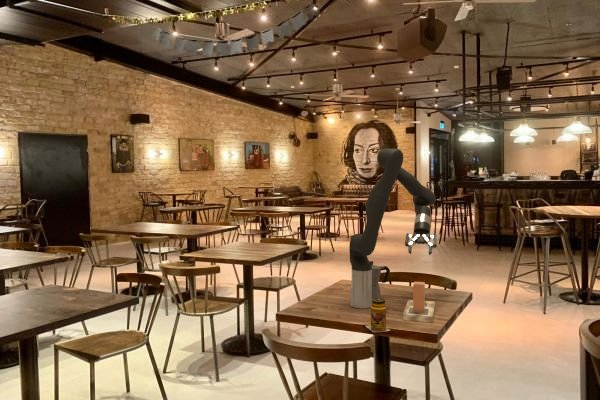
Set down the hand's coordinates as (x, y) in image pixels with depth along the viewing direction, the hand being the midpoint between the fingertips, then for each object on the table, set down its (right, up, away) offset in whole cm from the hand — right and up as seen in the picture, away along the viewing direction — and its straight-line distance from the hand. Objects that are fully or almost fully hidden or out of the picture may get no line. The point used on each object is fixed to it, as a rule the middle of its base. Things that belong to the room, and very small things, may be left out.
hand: (419, 253), depth 234 cm
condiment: (-24, -27, -29) cm, 46 cm away
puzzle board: (-2, -25, -8) cm, 27 cm away
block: (-4, -23, -14) cm, 27 cm away
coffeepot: (-18, -24, +19) cm, 35 cm away
